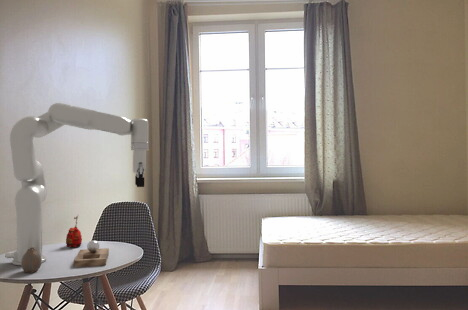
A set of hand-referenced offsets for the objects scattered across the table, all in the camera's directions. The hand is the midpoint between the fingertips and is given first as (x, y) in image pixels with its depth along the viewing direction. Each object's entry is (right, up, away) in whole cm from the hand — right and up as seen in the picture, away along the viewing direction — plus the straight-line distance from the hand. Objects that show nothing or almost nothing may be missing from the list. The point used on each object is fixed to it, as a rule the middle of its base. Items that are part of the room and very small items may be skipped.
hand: (139, 185), depth 177 cm
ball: (-19, -26, -4) cm, 32 cm away
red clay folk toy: (-35, -31, +16) cm, 49 cm away
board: (-18, -31, -7) cm, 36 cm away
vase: (-36, -31, -23) cm, 53 cm away
